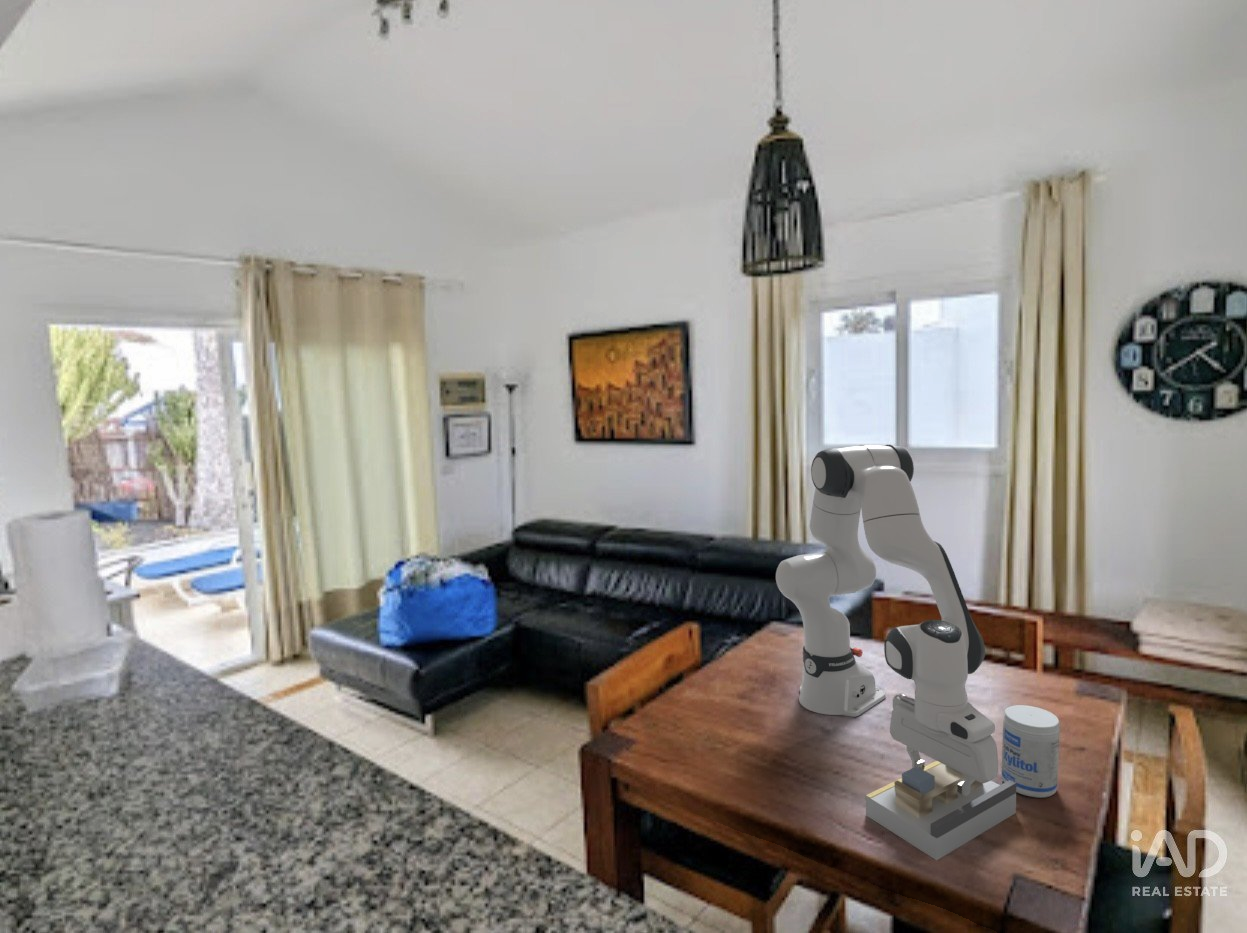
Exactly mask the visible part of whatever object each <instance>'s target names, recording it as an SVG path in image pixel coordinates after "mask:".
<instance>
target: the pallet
mask: <svg viewBox="0 0 1247 933" xmlns="http://www.w3.org/2000/svg"><path fill="white" fill-rule="evenodd" d="M926 772H928V773H930V774H932V775H934V776H935V789H933V790H932V791H930V792H928V793H926V794H924V795H922V796H921V793H919V792H918V791H916V790H914V789H912V788H910V787H909V786H907V785H905V784H903V783H901V782H900V781H898V779H896V780H897V781H896V780H894V781H895V792H896V805H898V806H899V807H901V808H903V809H904V810H906V811H908V812H909V813H911V814H913V815H914V816H916V817H918V818H921V817H923V816H925V815H927V814H928V813H930V812H932V798H933V797H935V798H936V799H938V800H940V801H942V802H944V803H945V804H947V803H949V802H951V801H952V800H954V799H956V798H958V792H957V789H958V788H957V784H958V783H961V782H962V781H965V780H966V779H963V774H962V773H960V772H958V771H956V770H954V769H952V768H950V767H948V766H946V765H944V764H940V765H938V766H936V767H934V768H932V769H930V770H928V771H926ZM982 784H983V783H980V782H978V781H976V780H975V781H974V782H973V783H972V784H971V790H973V789H975V788H977V787H978V786H980V785H982Z"/></svg>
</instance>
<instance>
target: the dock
mask: <svg viewBox="0 0 1247 933" xmlns="http://www.w3.org/2000/svg"><path fill="white" fill-rule="evenodd" d="M940 764H942V763H940V762H938V761H936V760H935V761H933V762H931V763H929V764H927V765H924V766H925V768H924V771H928V770H930V769H932V768H934V767H936V766H938V765H940ZM897 780H898V781H900V782H901V783H902V777H900V778H898V779H896V780H894V781H892V782H890V783H888V784H887V785H884V786H881V787H879V788H878V789H876V790H873V791H872V792H870V793H867V794H866V795H865V816H866V817H867V818H869V819H871V820H873V821H875V822H876V823H878V824H879V825H881V826H882V827H884V828H885V829H887V831H890V832H891V833H893V834H894V835H896V836H898V837H900V838H901V839H902V840H904V841H906V842H907V843H908V844H910V845H911V846H914V847H915V848H917V849H918V850H920V851H921V852H923V853H924V854H926V855H928V856H929V857H930V858H931V859H932V858H933V860H935V861H938V860H940V859H942V858H944V857H946V856H947V855H948V854H950V853H952V852H954V851H956V850H957V849H958V848H960V847H962V846H963V845H965V844H967V843H968V842H970V841H972V840H973V839H976V838H977V837H979V836H980V835H982V834H984V833H985V832H987V831H988V830H990V829H992V828H993V827H995V826H997V825H999V824H1000V823H1001V822H1004V821H1005V820H1007V819H1008V818H1011V816H1013V815H1015V814H1016V813H1017V792H1016V782H1013V781H1011V780H1009V781H1007V782H1005V783H1004V782H1003V783H1002V784H999V783H996V782H994V781H992V780H991V781H989V782H986V783H983V784H982V785H980V786H978V787H977V788H975V789H973V790H970V794H969V795H967V796H964V795H962V794H960V793H959V792H958V798H956V799H954V800H952V801H951V802H949V803H947V804H945V803H944V802H942V801H940V800H938V799H936V798H935V797H933V798H932V812H930V813H928V814H927V815H925V816H923V817H921V818H918V817H916V816H914V815H913V814H911V813H909V812H908V811H906V810H904V809H903V808H901V807H899V806H898V805H896V792H895V781H897Z"/></svg>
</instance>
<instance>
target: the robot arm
mask: <svg viewBox="0 0 1247 933" xmlns="http://www.w3.org/2000/svg"><path fill="white" fill-rule="evenodd" d="M914 467H915V466H914V461H913V458H912V457H911V454H910V452H909V451H908V450H907V449H906V448H904V447H902V446H899V445H893V444H886V445H880V444H859V445H853V446H852V445H851V446H845V447H840V448H836V447H831V448H826V449H823V450H821V451H819V452H817V453H816V454H815V455H814V458H813V460H812V463H811V469H810V473H811V474H810V475H811V480H812V483H813V486H814V487H815V491H814V494H813V500H812V508H811V514H810V520H809V531H810V532H811V535H812V536H813V538H814V539H815V540H817V541H818V542H819V543H821V544H823V545H825V548H824V550H823V551H821V552H814V553H813V552H812V553H806V554H798V555H796V556H795V555H794V556H792V557H789V558H786V559H784V560H781V561H780V562H779V564H778V566H777V568H776V571H775V581H776V582H775V584H776V586H777V588H778V590H779V591H780V592H781V594H782V595H783V596H784V597H785V598H787V599H788V600H790V601H791V602H792V603H793V604H794V605H795V606H796V608H797V610H799V613H800V616H801V620H802V625H803V638H804V639H803V640H804V646H803V647H802V662H803V667H802V675H801V676H802V677H801V685H800V686H799V697H798V701H799V703H800V705H801V706H802V707H803V708H805V709H807V710H808V711H810V712H814V713H816V714H817V713H818V714H821V715H826V716H827V715H829V716H846V717H853V718H854V717H855V718H856V717H858V716H860V715H862V714H863V713H864V712H866V711H868V710H869V709H871V708H872V707H874V706H875V705H877V704H878V703H880V702H881V701H883V700H885V699H886V696H887V695H886V693H885V691H884V690H882V689H881V688H880V687H878V686H876V678H875V676H874V674H873V673H872V671H871V670H870V669H868V668H867V667H865V666H863V665H862V664H861V663H859V662H858V661H856V658H855V656H856V657H857V658H861V657H863V656H862V655H863V650H862V649H861V648H858V647H853V648H852V647H851V637H850V636H851V631H850V630H851V628H850V626H851V624H850V621H849V619H848V617H847V615H846V614H844V613H843V611H840V610H838V609H836V608H833V607H831V603H830V600H831V597H833V596H834V597H835V596H841V595H849V594H856V593H858V592H860V591H864V590H866V589H869V588H871V587H872V585H873V584H874V583H875V581H876V580H875V579H876V576H877V568H876V563H875V561H874V559H873V558H872V557H871V555H870V554H869V553H868V552H866V551H865V550H864V549H863V548H862V547H861V545H860V542H859V536H858V535H859V523H860V516H861V517H862V522H863V523H862V524H863V528H864V529H863V530H864V535H865V538H866V542H867V544H868V546H869V548H870V550H871V551H872V552H873V553H874V554H875V555H877V557H879V558H880V559H882V560H883V561H885V562H888V563H890V564H892V565H896V566H899V567H903V568H906V569H909V570H912V571H914V572H915V573H917V574H919V575H921V576H922V577H923V578H924V579H925V580H926V581H927V582H928V584H929V587H930V590H931V592H932V595H933V598H934V600H935V601H934V602H935V603H936V606H937V609H938V611H939V614H940V618H941V619H927V620H925V621H924V620H923V621H922V622H921V623H919V624H911V625H901V626H897V627H893V628H892V629H891V630H890V631H889V632H888V634H887V635H886V636H885V640H884V646H883V647H884V648H883V650H884V658H885V662H886V664H887V666H888V667H889V668H891V670H893V671H894V672H895V673H897V674H898V675H900V676H901V677H902V678H905V679H907V680H912V681H913V682H914V683H915V689H914V698H912V697H909V696H908V695H906V694H903V693H899V694H895V695H894V697H893V698H892V710H891V711H892V712H891V716H890V724H889V733H890V736H891V737H892V739H893V740H894V741H896V742H898V743H901V744H902V745H903V746H904V745H905V746H906V751H907V753H908V756H909V758H910V760H911V765H912V766H911V769H912V768H914V767H918V768H920V769H922V770H924V768H925V766H926V765H925V764H926V761H925V760H924V759H922V758H921V755H920V754H922V755H924V756H926V757H928V758H931V759H932V760H935V761H938V762H940V763H942V764H944V765H946V766H948V767H950V768H952V769H954V770H956V771H958V772H960V773H962V774H963V779H966V780H965V781H962V782H961V783H958V784H957V788H958V789H957V792H959V793H960V794H962V795H964V796H967V795H969V794H970V790H971V784H972V783H973V782H974V781H975V780H976V781H978V782H980V783H986V782H989V781H992V780H995V778H997V777H998V774H999V754H998V752H999V751H998V745H997V743H996V740H995V739H994V737H993V736H992V734H994V733H995V731H996V726H995V723H994V722H993V721H992V720H991V719H990V718H989V717H987V716H986V715H985V714H983V713H982V712H980V711H979V710H978V709H976V708H975V707H974V706H973V704H971V703H970V702H968V698H969V697H968V693H967V690H966V682H967V680H968V676H969V675H972V674H973V673H975V672H976V671H977V670H978V669H979V668H980V666H981V664H982V663H983V662H984V659H985V657H986V646H985V642H984V639H983V637H982V635H981V633H980V631H979V629H978V628H977V626H976V624H975V622H974V620H973V618H972V615H971V613H970V610H969V609H968V606H967V603H966V600H965V598H964V595H963V592H962V590H961V587H960V585H959V584H960V583H959V582H958V579H957V576H956V574H955V570H954V568H953V567H952V566H953V565H952V563H951V561H950V558H949V557H948V555H947V553H946V550H945V549H944V547H943V546H942V545H941V544H940V543H939V542H937V541H935V540H933V538H932V537H931V536H930V534H929V533H928V532H927V530H926V528H925V526H924V524H923V521H922V518H921V513H920V508H919V504H918V500H917V498H916V497H917V496H916V494H915V491H914V488H913V486H912V483H911V481H912V480H913V477H914V474H915V473H914V472H915V468H914Z"/></svg>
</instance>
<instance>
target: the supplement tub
mask: <svg viewBox="0 0 1247 933" xmlns="http://www.w3.org/2000/svg"><path fill="white" fill-rule="evenodd" d="M1002 721H1003V722H1002V723H1003V724H1002V743H1001V744H1002V747H1001V748H1002V749H1001V770H1000V771H1001V774H1000V775H1001V779H1002V782H1003V783H1005V782H1007V781H1009V780H1011V781H1013V782H1016V794H1017V793H1018V794H1020V795H1023V796H1027V797H1031V798H1039V799H1041V798H1042V799H1043V798H1048V797H1051V796H1054V795H1055V794H1056V792H1057V790H1058V778H1059V776H1058V774H1059V754H1060V729H1061V728H1060V720H1059V718H1058V717H1057V716H1056V715H1055V714H1054V713H1053V712H1051V711H1049V710H1046V709H1043V708H1041V707H1037V706H1032V705H1028V704H1027V705H1023V704H1018V705H1017V704H1016V705H1010V706H1008V707H1007V708H1005V709H1004V715H1003V720H1002Z"/></svg>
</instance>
